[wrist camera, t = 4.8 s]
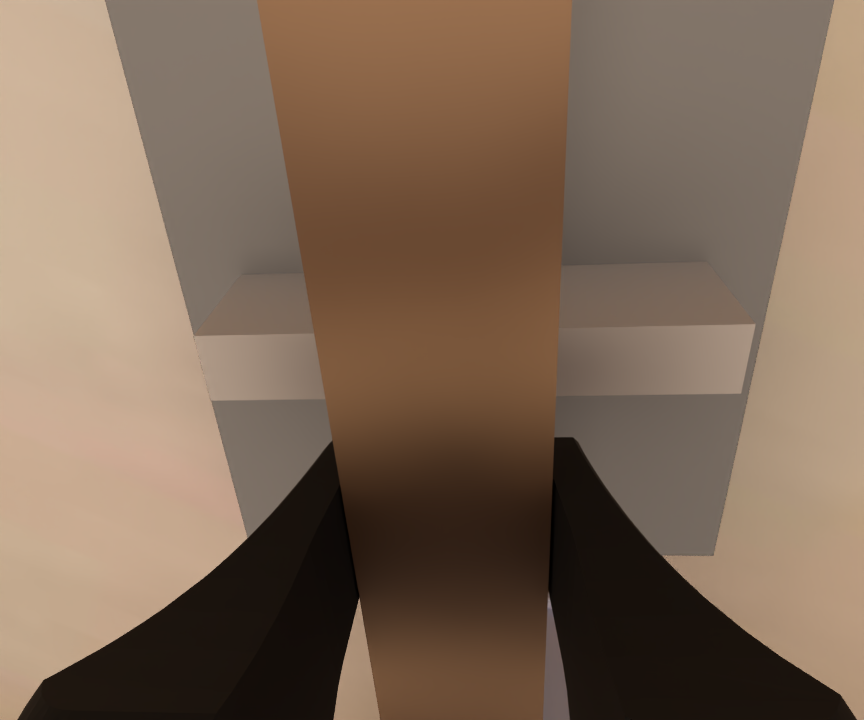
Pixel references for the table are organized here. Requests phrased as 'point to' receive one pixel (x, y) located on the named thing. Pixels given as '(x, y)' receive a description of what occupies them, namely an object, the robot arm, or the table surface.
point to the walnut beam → (435, 321)
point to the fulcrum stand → (581, 242)
